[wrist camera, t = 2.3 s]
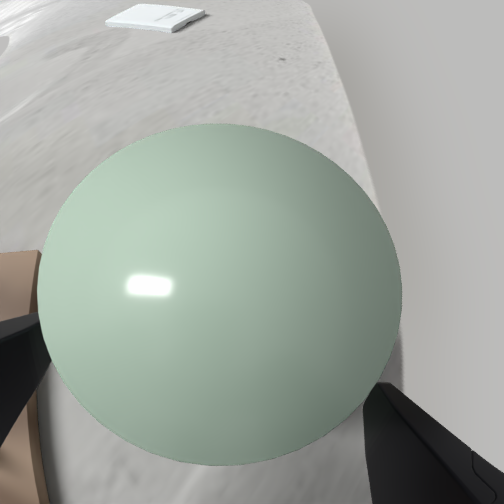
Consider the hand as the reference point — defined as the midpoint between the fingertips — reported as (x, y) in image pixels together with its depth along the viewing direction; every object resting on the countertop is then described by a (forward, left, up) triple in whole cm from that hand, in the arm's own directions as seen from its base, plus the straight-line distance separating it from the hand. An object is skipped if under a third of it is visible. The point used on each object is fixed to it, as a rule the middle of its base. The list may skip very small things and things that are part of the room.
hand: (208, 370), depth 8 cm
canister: (+1, 0, -9) cm, 9 cm away
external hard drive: (+46, +7, -10) cm, 48 cm away
